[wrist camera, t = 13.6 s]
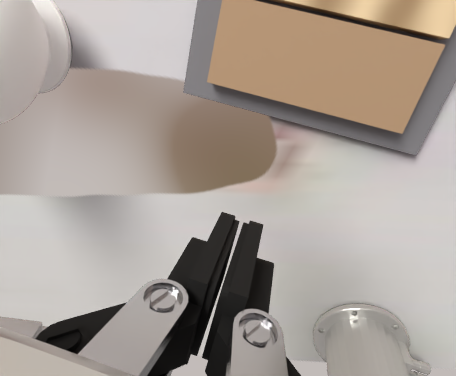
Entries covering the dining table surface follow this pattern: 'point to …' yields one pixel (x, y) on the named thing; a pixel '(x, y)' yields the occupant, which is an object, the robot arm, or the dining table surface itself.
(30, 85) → the decorative vase
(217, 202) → the dining table surface
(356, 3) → the board
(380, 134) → the floor board
